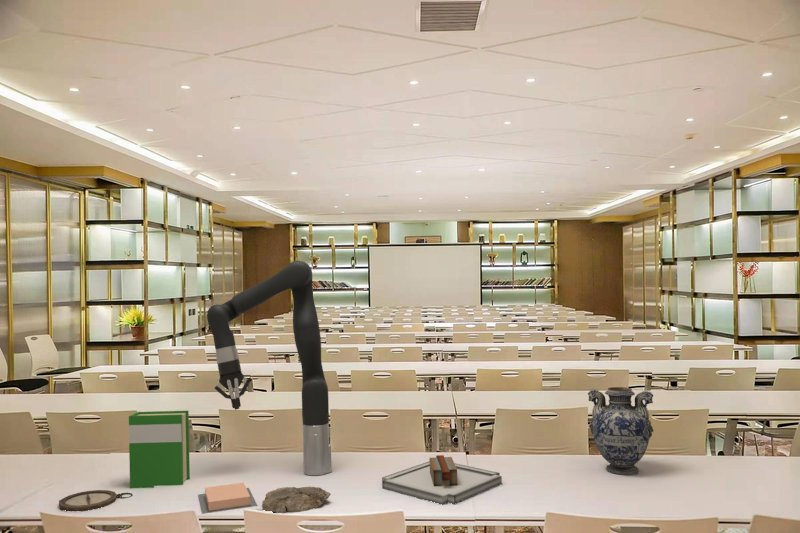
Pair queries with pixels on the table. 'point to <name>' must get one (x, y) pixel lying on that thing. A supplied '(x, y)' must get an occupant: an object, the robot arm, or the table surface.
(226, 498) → the terracotta tile
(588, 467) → the table surface
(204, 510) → the rubber mat
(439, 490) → the grey square tray
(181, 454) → the hardback book
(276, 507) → the clay tablet
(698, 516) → the table surface
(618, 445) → the decorative vase
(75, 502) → the compass
